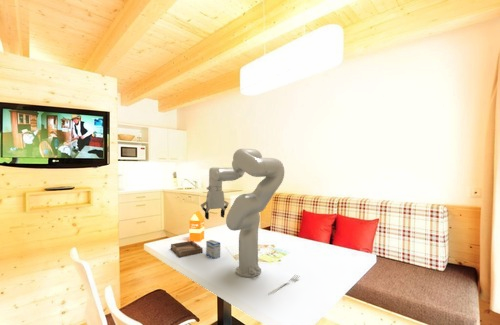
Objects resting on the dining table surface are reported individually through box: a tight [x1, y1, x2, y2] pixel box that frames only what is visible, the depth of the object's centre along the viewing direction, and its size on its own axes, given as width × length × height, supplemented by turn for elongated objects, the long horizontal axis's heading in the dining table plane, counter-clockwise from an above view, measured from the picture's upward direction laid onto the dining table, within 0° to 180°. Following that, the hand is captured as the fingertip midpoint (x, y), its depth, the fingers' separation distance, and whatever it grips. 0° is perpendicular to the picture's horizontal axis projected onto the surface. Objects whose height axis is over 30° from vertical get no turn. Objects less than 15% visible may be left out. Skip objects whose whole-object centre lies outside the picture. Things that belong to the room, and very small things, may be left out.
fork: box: [267, 274, 300, 296], centre depth 110 cm, size 3×24×2 cm, turn 136°
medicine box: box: [205, 239, 221, 260], centre depth 147 cm, size 8×4×9 cm, turn 47°
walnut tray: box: [170, 240, 204, 258], centre depth 157 cm, size 18×14×3 cm
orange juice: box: [189, 210, 205, 243], centre depth 181 cm, size 8×9×20 cm
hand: (214, 217), depth 148 cm, fingers open, 9 cm apart
